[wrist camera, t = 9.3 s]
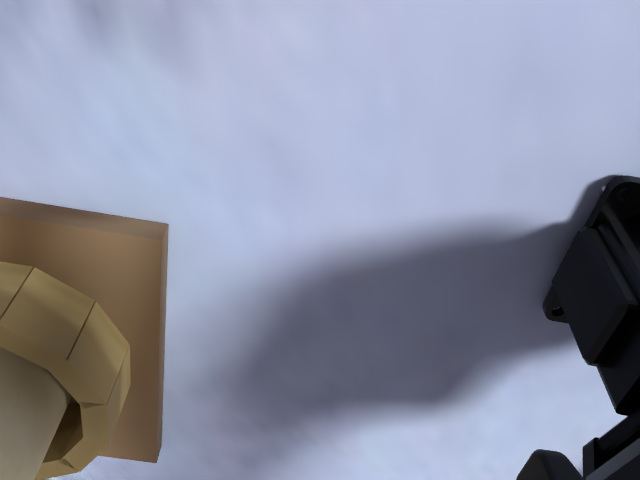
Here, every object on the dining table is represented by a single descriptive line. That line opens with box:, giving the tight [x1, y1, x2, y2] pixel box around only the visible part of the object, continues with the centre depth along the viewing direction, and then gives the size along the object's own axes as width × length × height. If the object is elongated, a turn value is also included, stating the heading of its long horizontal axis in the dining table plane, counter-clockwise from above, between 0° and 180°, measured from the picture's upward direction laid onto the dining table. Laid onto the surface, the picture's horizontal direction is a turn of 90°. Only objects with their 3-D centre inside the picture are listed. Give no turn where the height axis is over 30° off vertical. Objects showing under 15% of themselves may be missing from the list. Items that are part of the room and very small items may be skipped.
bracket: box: [0, 197, 168, 480], centre depth 25 cm, size 12×14×4 cm
